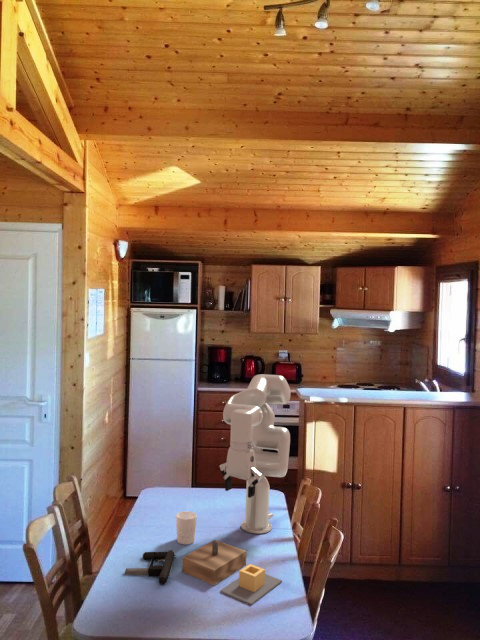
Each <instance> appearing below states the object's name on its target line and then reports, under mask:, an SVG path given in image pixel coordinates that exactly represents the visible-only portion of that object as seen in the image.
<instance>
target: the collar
mask: <svg viewBox="0 0 480 640" xmlns="http://www.w3.org/2000/svg"><path fill="white" fill-rule="evenodd" d="M238 571H239V575H238V576H239V577H238V578H239V586H240V587H243V588H245V589H248V590H250V591H253V592H255V591H257V590H258V589H259V588H261V587H262V586H263V585H265V574H266V569H265V568H262V567H259V566H257V565H253V564H251V563H249V564H248V565H247V564H246V565H245V566H244V567H242V568H241V569H239V570H238Z"/></svg>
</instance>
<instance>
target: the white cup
mask: <svg viewBox="0 0 480 640" xmlns="http://www.w3.org/2000/svg"><path fill="white" fill-rule="evenodd" d="M175 518H176V520H175V521H176V541H177V543H178V544H180V545H191V544H194V543H195V541H196V539H195V538H196V532H197V531H196V529H197V518H198V515H197V513H195V512H193V511H186V510H185V511H180V512H178V513H177V514H176V517H175Z"/></svg>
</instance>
